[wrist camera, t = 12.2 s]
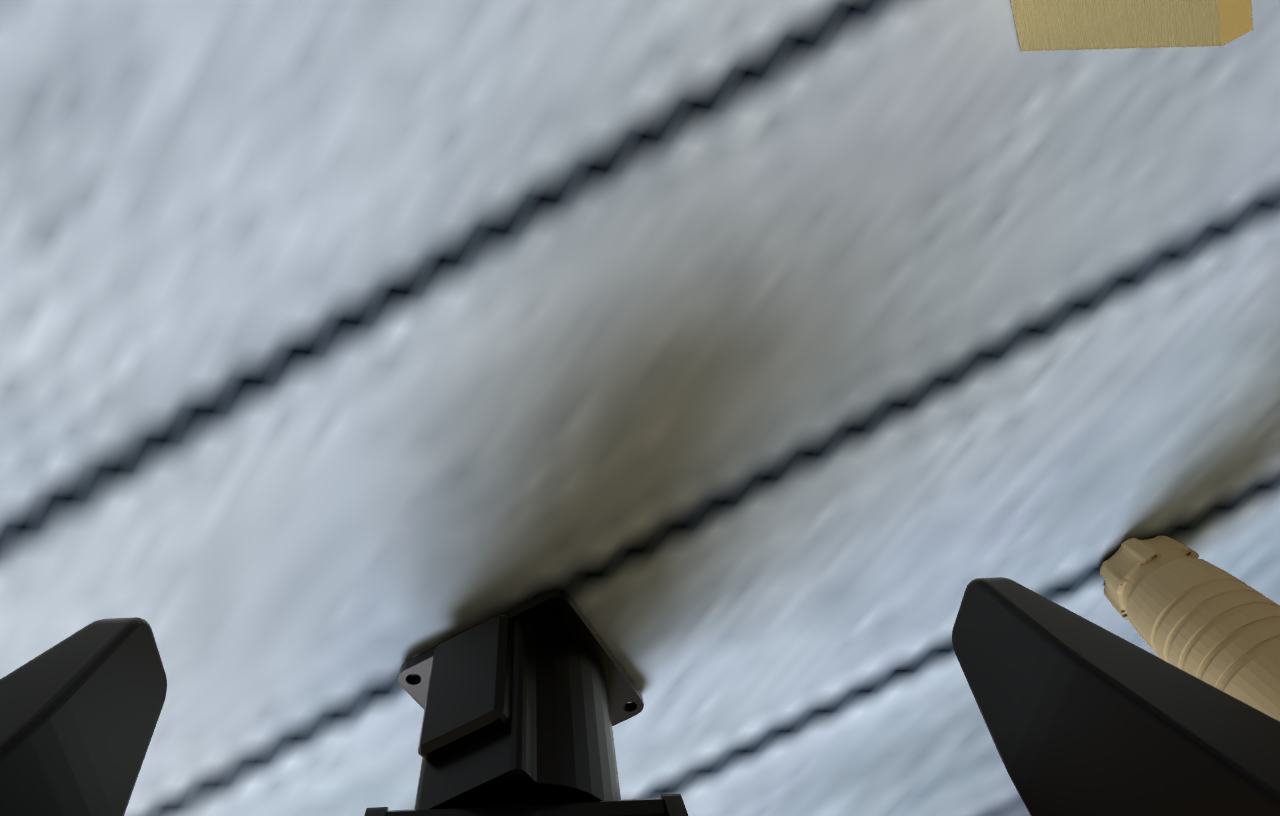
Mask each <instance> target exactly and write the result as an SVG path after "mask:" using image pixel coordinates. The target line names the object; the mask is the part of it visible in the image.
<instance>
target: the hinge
mask: <svg viewBox="0 0 1280 816" xmlns="http://www.w3.org/2000/svg"><path fill="white" fill-rule="evenodd" d="M1011 5H1012V10H1013V15H1014V20H1015V25H1016V30H1017V34H1018V39H1019V44H1020V49H1021V51H1047V50H1085V49H1123V48H1160V47H1198V46H1222V45H1224V44H1226V43H1228V42H1230V41H1232V40H1234V39H1236V38H1238V37H1240V36H1241V35H1243V34H1245V33H1247V32H1249V31H1251V30H1253V23H1252V6H1251V0H1011Z"/></svg>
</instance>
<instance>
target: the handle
mask: <svg viewBox="0 0 1280 816" xmlns="http://www.w3.org/2000/svg"><path fill="white" fill-rule="evenodd" d="M1198 557H1199V555H1198V554H1197V553H1196V552H1195V551H1193V550H1192V549H1190V548H1188V547H1187V546H1185V545H1183V544H1182V543H1180V542H1178V541H1176V540H1174V539H1172V538H1170V537H1167V536H1156V537H1155V538H1151V539H1145V540H1138V539H1136V538H1130V539H1128V540H1126V541H1124V542H1123V543H1122V544H1121V547H1120V548H1119V550H1118V551H1117V552H1116V553H1115V554H1114V555H1113V556H1112V557H1111V558H1109V559H1108V560H1106V561H1104V562H1103V563H1102V565H1101V567H1100V575H1101V576H1102V577H1103V578H1104V579H1105V588H1104V594H1105V596H1106V597H1107V599H1108V600H1109V601H1110V603H1111V604H1112V606H1113V607H1114V608H1115V609H1116V610H1117V611H1118V612H1119V613H1120V615H1121V616H1122V617H1123V618H1125V619H1127V620H1129V621H1130V623H1131V624H1132V625H1133V627H1134V628H1135V629H1136V631H1137V632H1138V633H1139V635H1140V636H1141V637H1142V638H1143V639H1144V640H1145V642H1146V643H1147V644H1148V645H1149V646H1150V647H1151V648H1152V650H1153V651H1154V652H1155V653H1156V654H1157V655H1158V656H1159V657H1160V658H1161V659H1162V660H1164V661H1166V662H1168V663H1170V664H1172V665H1174V666H1176V667H1178V668H1179V669H1181V670H1183V671H1185V672H1187V673H1189V674H1191V675H1193V676H1195V677H1196V678H1198V679H1200V680H1202V681H1204V682H1206V683H1208V684H1210V685H1212V686H1214V687H1215V688H1217V689H1219V690H1221V691H1223V692H1225V693H1227V694H1229V695H1231V696H1232V697H1234V698H1236V699H1238V700H1240V701H1242V702H1244V703H1246V704H1248V705H1250V706H1251V707H1253V708H1255V709H1257V710H1259V711H1261V712H1263V713H1265V714H1267V715H1269V716H1270V717H1272V718H1274V719H1276V720H1278V721H1280V606H1279V605H1278V604H1276V603H1275V602H1273V601H1272V600H1270V599H1268V598H1266V597H1265V596H1263V595H1262V594H1261V593H1259V592H1258V591H1256V590H1255V589H1253V588H1252V587H1250V586H1248V585H1247V584H1245V583H1244V582H1242V581H1241V580H1239V579H1237V578H1236V577H1234V576H1232V575H1231V574H1229V573H1227V572H1226V571H1224V570H1222V569H1220V568H1218V567H1216V566H1214V565H1212V564H1210V563H1209V562H1207V561H1205V560H1203V559H1198Z"/></svg>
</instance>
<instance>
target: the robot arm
mask: <svg viewBox="0 0 1280 816" xmlns="http://www.w3.org/2000/svg"><path fill="white" fill-rule="evenodd" d="M554 603H559V604H561V605H560V606H558V607H552V606H550V605H551V604H554ZM952 643H953V647H954V651H955V654H956V656H957V659H958V661H959V663H960V665H961V668H962V670H963V672H964V675H965V677H966V679H967V682H968V684H969V686H970V688H971V691H972V693H973V695H974V698H975V700H976V702H977V704H978V707H979V709H980V711H981V714H982V716H983V718H984V720H985V723H986V725H987V727H988V730H989V732H990V734H991V736H992V739H993V741H994V743H995V746H996V748H997V750H998V753H999V755H1000V757H1001V759H1002V761H1003V763H1004V765H1005V767H1006V770H1007V772H1008V774H1009V776H1010V778H1011V780H1012V781H1013V783H1014V785H1015V787H1016V789H1017V791H1018V793H1019V795H1020V797H1021V799H1022V800H1023V802H1024V804H1025V806H1026V808H1027V809H1028V811H1029V813H1030V815H1031V816H1280V721H1278V720H1276V719H1274V718H1272V717H1270V716H1269V715H1267V714H1265V713H1263V712H1261V711H1259V710H1257V709H1255V708H1253V707H1251V706H1250V705H1248V704H1246V703H1244V702H1242V701H1240V700H1238V699H1236V698H1234V697H1232V696H1231V695H1229V694H1227V693H1225V692H1223V691H1221V690H1219V689H1217V688H1215V687H1214V686H1212V685H1210V684H1208V683H1206V682H1204V681H1202V680H1200V679H1198V678H1196V677H1195V676H1193V675H1191V674H1189V673H1187V672H1185V671H1183V670H1181V669H1179V668H1178V667H1176V666H1174V665H1172V664H1170V663H1168V662H1166V661H1164V660H1162V659H1160V658H1159V657H1157V656H1155V655H1153V654H1151V653H1149V652H1147V651H1145V650H1143V649H1141V648H1140V647H1138V646H1136V645H1134V644H1132V643H1130V642H1128V641H1126V640H1124V639H1123V638H1121V637H1119V636H1117V635H1115V634H1113V633H1111V632H1109V631H1107V630H1105V629H1104V628H1102V627H1100V626H1098V625H1096V624H1094V623H1092V622H1090V621H1088V620H1087V619H1085V618H1083V617H1081V616H1079V615H1077V614H1075V613H1073V612H1071V611H1069V610H1068V609H1066V608H1064V607H1062V606H1060V605H1058V604H1056V603H1054V602H1052V601H1051V600H1049V599H1047V598H1045V597H1043V596H1041V595H1039V594H1037V593H1035V592H1033V591H1032V590H1030V589H1028V588H1026V587H1024V586H1022V585H1020V584H1018V583H1016V582H1014V581H1013V580H1010V579H1008V578H1002V577H997V578H978V579H975V580H972V581H971V582H970V583H969V584H968V585H967V588H966V590H965V593H964V596H963V599H962V602H961V605H960V608H959V612H958V615H957V618H956V621H955V624H954V627H953V631H952ZM410 674H417V675H418V676H412V675H410ZM398 682H399V684H400V685H401V686H402V687H403V688H404V689H405V690H406V691H407V692H408V693H409V694H410V696H411V697H412V698H413V699H414V700H415V701H416V702H417V703H418V704H419V705H420V706H421V707H422V708H423V709H424V716H423V722H422V729H421V735H420V741H419V747H418V754H419V755H420V756H421V757H422V764H421V770H420V777H419V783H418V789H417V796H416V802H415V809H414V810H394V811H388V807H379V808H367V809H366V812H365V815H364V816H688V813H687V811H686V808H685V805H684V802H683V800H682V797H681V795H680V794H665V795H661V798H654V799H632V800H621V797H620V788H619V780H618V772H617V764H616V756H615V748H614V739H613V731H612V726H614V725H616V724H618V723H620V722H622V721H624V720H627V719H629V718H631V717H633V716H635V715H637V714H638V713H640V712H641V711H642V709H643V706H644V703H643V698H642V694H641V692H640V691H639V689H638V688H637V687H636V685H635V684H634V683H633V681H632V680H631V679H630V677H629V676H628V674H627V673H626V672H625V670H624V669H623V668H622V666H621V665H620V664H619V662H618V661H617V660H616V658H615V657H614V656H613V654H612V653H611V652H610V650H609V649H608V647H607V646H606V645H605V643H604V642H603V641H602V639H601V638H600V637H599V635H598V634H597V633H596V631H595V630H594V629H593V627H592V626H591V624H590V623H589V622H588V620H587V619H586V618H585V616H584V615H583V614H582V612H581V611H580V610H579V608H578V607H577V606H576V604H575V603H574V601H573V600H572V599H571V597H570V596H569V595H568V594H567V593H566V592H565V591H562V590H557V589H553V590H550V591H547V592H545V593H543V594H541V595H539V596H537V597H535V598H533V599H531V600H529V601H527V602H525V603H523V604H521V605H519V606H517V607H515V608H513V609H511V610H509V611H507V612H505V613H503V614H501V615H498V616H495V617H493V618H491V619H489V620H487V621H485V622H483V623H481V624H479V625H477V626H475V627H473V628H471V629H469V630H467V631H465V632H463V633H461V634H459V635H457V636H455V637H453V638H451V639H449V640H447V641H445V642H443V643H441V644H439V645H437V646H436V647H435V648H433V649H431V650H429V651H427V652H424V653H422V654H420V655H418V656H416V657H414V658H412V659H410V660H408V661H406V662H405V663H404V664H402V666H401V668H400V672H399V676H398ZM166 690H167V680H166V674H165V671H164V668H163V664H162V661H161V658H160V655H159V651H158V648H157V645H156V642H155V638H154V635H153V632H152V629H151V627H150V625H149V624H148V623H147V621H145V620H144V619H141V618H116V619H103V620H98V621H95V622H93V623H91V624H89V625H87V626H86V627H84V628H83V629H81V630H79V631H78V632H76V633H75V634H73V635H71V636H70V637H68V638H66V639H65V640H63V641H62V642H60V643H58V644H57V645H55V646H54V647H52V648H50V649H49V650H47V651H45V652H44V653H42V654H41V655H39V656H37V657H36V658H34V659H33V660H31V661H29V662H28V663H26V664H24V665H23V666H21V667H20V668H18V669H16V670H15V671H13V672H12V673H10V674H8V675H7V676H5V677H3V678H2V679H0V816H124V814H125V811H126V808H127V805H128V803H129V800H130V797H131V794H132V791H133V789H134V786H135V783H136V780H137V777H138V774H139V772H140V769H141V766H142V763H143V760H144V758H145V755H146V752H147V749H148V746H149V743H150V741H151V738H152V735H153V732H154V729H155V726H156V724H157V721H158V718H159V715H160V712H161V710H162V707H163V704H164V701H165V696H166ZM628 702H631V703H628Z"/></svg>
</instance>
